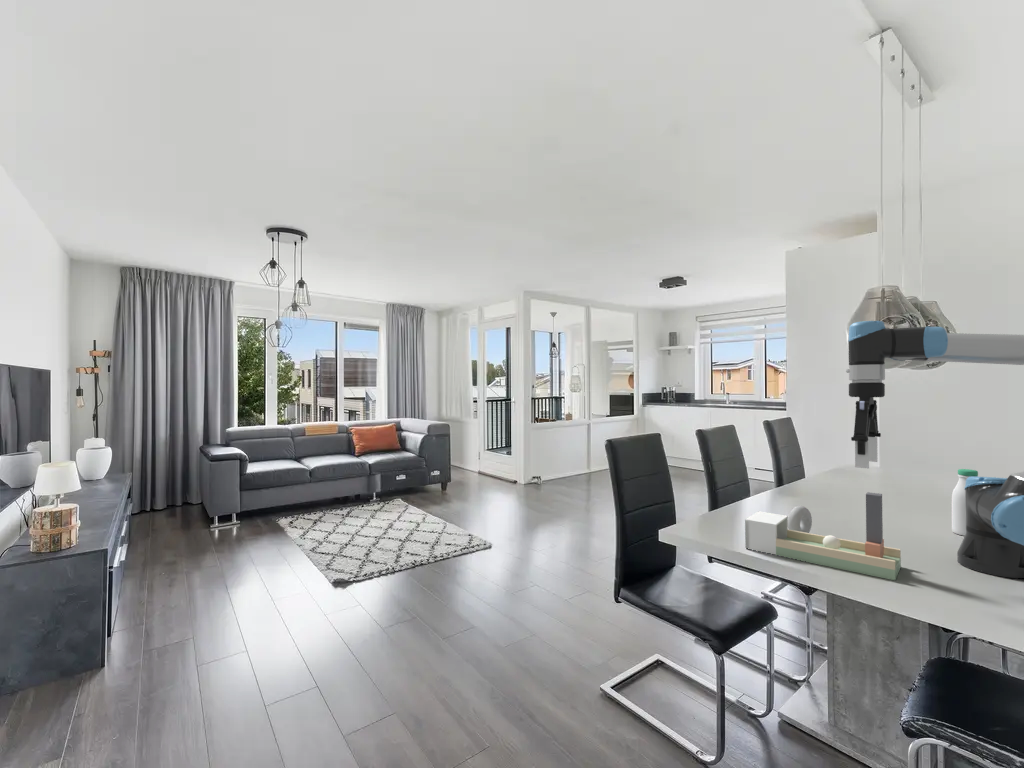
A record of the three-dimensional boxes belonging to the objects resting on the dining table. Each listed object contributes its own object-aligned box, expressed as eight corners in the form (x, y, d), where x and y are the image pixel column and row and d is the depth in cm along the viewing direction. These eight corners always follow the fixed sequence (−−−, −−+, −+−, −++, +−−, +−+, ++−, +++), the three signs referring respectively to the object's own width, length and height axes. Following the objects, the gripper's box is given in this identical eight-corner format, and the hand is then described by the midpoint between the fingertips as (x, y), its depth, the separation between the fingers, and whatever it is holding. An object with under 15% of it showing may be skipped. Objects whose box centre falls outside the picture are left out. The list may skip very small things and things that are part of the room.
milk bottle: (956, 536, 151) (955, 471, 151) (948, 529, 157) (947, 467, 157) (990, 539, 147) (989, 472, 147) (980, 532, 154) (979, 468, 154)
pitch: (900, 566, 126) (900, 533, 126) (895, 580, 117) (894, 544, 117) (758, 539, 149) (758, 511, 149) (745, 548, 141) (745, 519, 141)
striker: (884, 554, 126) (883, 492, 126) (880, 561, 121) (879, 497, 121) (869, 552, 128) (868, 491, 128) (865, 559, 123) (864, 495, 123)
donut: (796, 542, 146) (796, 509, 146) (785, 539, 149) (784, 506, 149) (814, 537, 151) (814, 504, 151) (803, 534, 154) (802, 502, 154)
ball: (842, 550, 131) (841, 535, 131) (838, 554, 128) (838, 538, 128) (824, 547, 134) (824, 532, 134) (821, 550, 131) (821, 535, 131)
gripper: (857, 381, 138) (857, 457, 138) (838, 381, 120) (839, 468, 120) (891, 381, 132) (891, 460, 132) (877, 381, 114) (877, 472, 114)
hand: (866, 464), depth 126 cm, fingers open, 13 cm apart
